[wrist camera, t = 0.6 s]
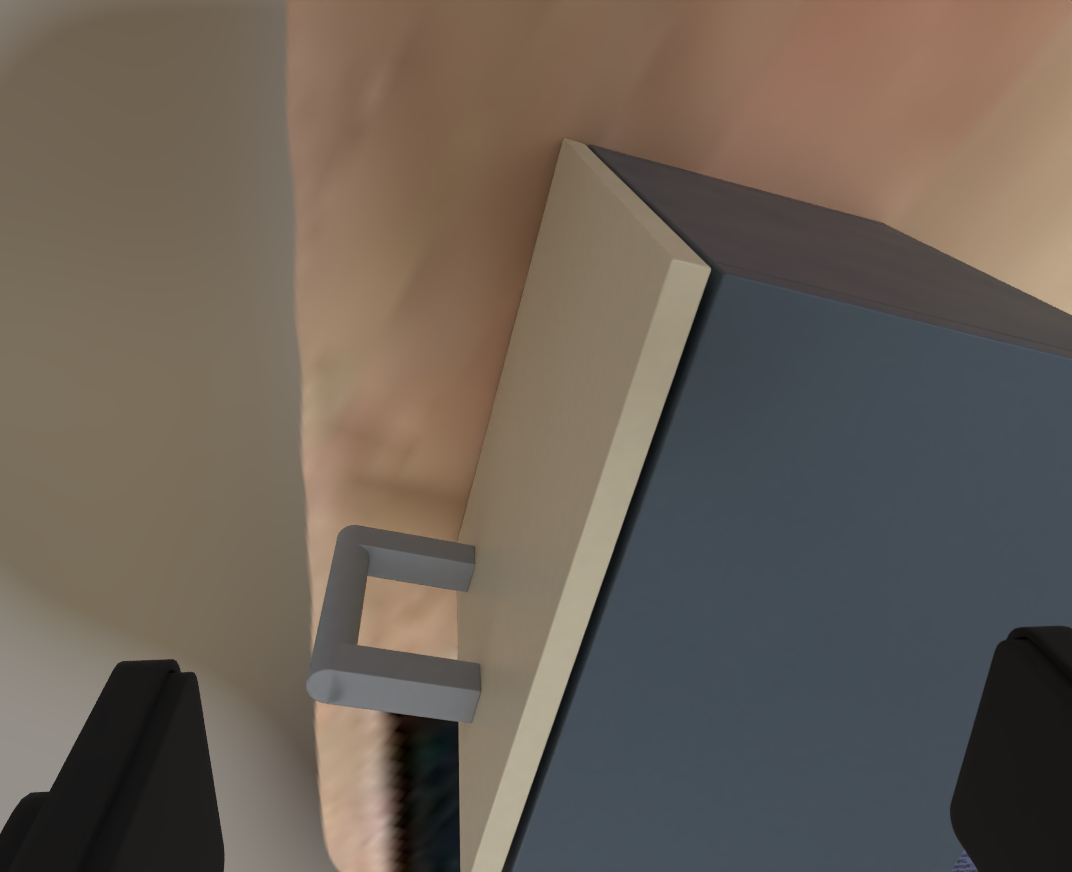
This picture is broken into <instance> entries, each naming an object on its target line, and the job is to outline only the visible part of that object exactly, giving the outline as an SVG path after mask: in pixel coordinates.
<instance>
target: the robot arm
mask: <svg viewBox="0 0 1072 872" xmlns="http://www.w3.org/2000/svg"><path fill="white" fill-rule="evenodd" d="M950 819H951V824H952V827H953V830H954V833H955V835H956V837H957V839H958V840H959V842H960V844H961V845H962V847H963V848H964V850H965V851H966V853H967V854H968V856H969V857H970V859H971V861H972V862H973V864H974V865H975V867H976V868H977V870H978V871H979V872H1072V629H1071V628H1070V627H1066V626H1036V627H1019V628H1015V629H1013V630H1012V631H1011V632H1010V633H1009V635H1008V637H1007V639H1006V640H1004V641H1001V642H1000V643H999V644H998V645H997V647H996V649H995V652H994V655H993V659H992V662H991V665H990V669H989V672H988V676H987V679H986V683H985V686H984V690H983V693H982V697H981V700H980V704H979V707H978V711H977V714H976V717H975V721H974V724H973V728H972V731H971V735H970V738H969V742H968V745H967V749H966V752H965V756H964V759H963V763H962V766H961V770H960V773H959V776H958V780H957V783H956V787H955V790H954V794H953V797H952V801H951V805H950ZM223 871H224V844H223V838H222V832H221V826H220V819H219V813H218V807H217V800H216V793H215V787H214V781H213V775H212V769H211V762H210V756H209V750H208V743H207V737H206V730H205V725H204V718H203V711H202V705H201V699H200V692H199V686H198V681H197V677H196V675H195V673H193V672H184V673H183V672H181V671H180V668H179V665H178V663H177V661H175V660H173V659H171V660H170V659H168V660H141V661H122V662H120V663H118V664H117V665H116V667H115V668H114V670H113V671H112V673H111V675H110V677H109V679H108V681H107V683H106V685H105V687H104V689H103V690H102V692H101V694H100V696H99V698H98V700H97V702H96V704H95V706H94V708H93V710H92V712H91V713H90V715H89V717H88V719H87V721H86V723H85V725H84V727H83V729H82V731H81V733H80V734H79V736H78V738H77V740H76V742H75V744H74V746H73V748H72V750H71V751H70V754H69V755H68V757H67V759H66V761H65V763H64V765H63V767H62V769H61V771H60V773H59V774H58V777H57V778H56V780H55V782H54V784H53V786H52V788H51V790H50V791H49V792H35V793H30V794H28V795H27V796H26V797H24V798H23V799H21V801H20V802H19V804H18V805H17V806H16V808H15V809H14V811H13V812H12V814H11V816H10V817H9V819H8V821H7V823H6V824H5V826H4V828H3V830H2V832H1V834H0V872H223Z"/></svg>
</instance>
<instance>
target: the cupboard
mask: <svg viewBox="0 0 1072 872" xmlns="http://www.w3.org/2000/svg"><path fill="white" fill-rule="evenodd" d="M589 149H590V150H591V151H592V152H593V153H594V154H595V155H596V156H597V157H598V158H599V159H600V160H601V161H602V162H603V163H604V164H605V165H606V166H607V167H608V168H609V169H610V170H611V171H612V172H613V173H614V174H615V175H616V176H617V177H618V178H620V179H621V180H622V181H623V182H624V183H625V184H626V185H627V186H628V187H629V188H630V189H631V190H632V191H633V192H634V193H635V194H636V195H637V196H638V197H639V198H640V199H641V200H642V201H643V202H644V203H645V204H646V205H647V206H648V207H649V208H650V209H651V210H652V211H653V212H654V213H655V214H656V215H657V216H658V217H659V218H660V219H661V220H662V221H663V222H664V223H665V224H666V225H667V226H668V227H669V228H670V229H671V230H672V231H674V232H675V233H676V234H677V235H678V236H679V237H680V238H681V239H682V240H683V241H684V242H685V243H686V244H687V245H688V246H689V247H690V248H691V249H692V250H693V251H694V252H695V253H696V254H697V255H698V256H699V257H700V258H701V259H702V260H703V261H704V262H705V263H706V264H707V265H708V266H709V267H710V268H711V272H710V275H709V278H708V280H707V283H706V286H705V289H704V292H703V295H702V298H701V301H700V303H699V306H698V309H697V312H696V315H695V318H694V321H693V324H692V326H691V329H690V332H689V335H688V338H687V341H686V344H685V347H684V349H683V352H682V355H681V358H680V361H679V364H678V367H677V369H676V372H675V375H674V378H673V381H672V384H671V387H670V390H669V392H668V395H667V398H666V401H665V404H664V407H663V410H662V413H661V415H660V418H659V421H658V424H657V427H656V430H655V433H654V435H653V438H652V441H651V444H650V447H649V450H648V453H647V456H646V458H645V461H644V464H643V467H642V470H641V473H640V476H639V479H638V481H637V484H636V487H635V490H634V493H633V496H632V499H631V502H630V504H629V507H628V510H627V513H626V516H625V519H624V522H623V524H622V527H621V530H620V533H619V536H618V539H617V542H616V545H615V547H614V550H613V553H612V556H611V559H610V562H609V565H608V568H607V570H606V573H605V576H604V579H603V582H602V585H601V588H600V590H599V593H598V596H597V599H596V602H595V605H594V608H593V611H592V613H591V616H590V619H589V622H588V625H587V628H586V631H585V634H584V636H583V639H582V642H581V645H580V648H579V651H578V654H577V657H576V659H575V662H574V665H573V668H572V671H571V674H570V677H569V679H568V682H567V685H566V688H565V691H564V694H563V697H562V700H561V702H560V705H559V708H558V711H557V714H556V717H555V720H554V723H553V725H552V728H551V731H550V734H549V737H548V740H547V743H546V745H545V748H544V751H543V754H542V757H541V760H540V763H539V766H538V768H537V771H536V774H535V777H534V780H533V783H532V786H531V789H530V791H529V794H528V797H527V800H526V803H525V806H524V809H523V812H522V814H521V817H520V820H519V823H518V826H517V829H516V832H515V834H514V837H513V840H512V843H511V846H510V849H509V852H508V855H507V857H506V860H505V863H504V866H503V869H502V872H951V871H952V869H953V868H954V866H955V864H956V863H957V861H958V860H959V858H960V857H961V855H962V854H963V852H964V848H963V847H962V845H961V844H960V842H959V840H958V839H957V837H956V835H955V833H954V830H953V827H952V824H951V819H950V805H951V801H952V797H953V794H954V790H955V787H956V783H957V780H958V776H959V773H960V770H961V766H962V763H963V759H964V756H965V752H966V749H967V745H968V742H969V738H970V735H971V731H972V728H973V724H974V721H975V717H976V714H977V711H978V707H979V704H980V700H981V697H982V693H983V690H984V686H985V683H986V679H987V676H988V672H989V669H990V665H991V662H992V659H993V655H994V652H995V649H996V647H997V645H998V644H999V643H1000V642H1001V641H1004V640H1006V639H1007V637H1008V635H1009V633H1010V632H1011V631H1012V630H1013V629H1015V628H1019V627H1036V626H1066V627H1070V628H1071V629H1072V315H1070V314H1068V313H1066V312H1064V311H1062V310H1060V309H1058V308H1056V307H1053V306H1051V305H1049V304H1047V303H1045V302H1043V301H1041V300H1039V299H1037V298H1035V297H1033V296H1031V295H1029V294H1027V293H1025V292H1023V291H1021V290H1019V289H1017V288H1015V287H1012V286H1010V285H1008V284H1006V283H1004V282H1002V281H1000V280H998V279H996V278H994V277H992V276H990V275H988V274H986V273H984V272H982V271H980V270H978V269H976V268H974V267H971V266H969V265H967V264H965V263H963V262H961V261H959V260H957V259H955V258H953V257H951V256H949V255H947V254H945V253H943V252H941V251H939V250H937V249H935V248H933V247H931V246H928V245H926V244H924V243H922V242H920V241H918V240H916V239H914V238H912V237H910V236H908V235H906V234H904V233H902V232H900V231H898V230H896V229H894V228H892V227H890V226H888V225H886V224H884V223H880V222H877V221H873V220H869V219H865V218H862V217H858V216H854V215H851V214H847V213H843V212H839V211H836V210H832V209H828V208H824V207H821V206H817V205H813V204H810V203H806V202H802V201H798V200H795V199H791V198H787V197H783V196H780V195H776V194H772V193H769V192H765V191H761V190H757V189H754V188H750V187H746V186H742V185H739V184H735V183H731V182H728V181H724V180H720V179H716V178H713V177H709V176H705V175H701V174H698V173H694V172H690V171H687V170H683V169H679V168H675V167H672V166H668V165H664V164H660V163H657V162H653V161H649V160H646V159H642V158H638V157H634V156H631V155H627V154H623V153H619V152H616V151H612V150H608V149H605V148H601V147H597V146H593V145H589Z"/></svg>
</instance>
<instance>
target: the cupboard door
mask: <svg viewBox="0 0 1072 872" xmlns="http://www.w3.org/2000/svg"><path fill="white" fill-rule="evenodd" d="M710 272H711V268H710V267H709V266H708V265H707V264H706V263H705V262H704V261H703V260H702V259H701V258H700V257H699V256H698V255H697V254H696V253H695V252H694V251H693V250H692V249H691V248H690V247H689V246H688V245H687V244H686V243H685V242H684V241H683V240H682V239H681V238H680V237H679V236H678V235H677V234H676V233H675V232H674V231H672V230H671V229H670V228H669V227H668V226H667V225H666V224H665V223H664V222H663V221H662V220H661V219H660V218H659V217H658V216H657V215H656V214H655V213H654V212H653V211H652V210H651V209H650V208H649V207H648V206H647V205H646V204H645V203H644V202H643V201H642V200H641V199H640V198H639V197H638V196H637V195H636V194H635V193H634V192H633V191H632V190H631V189H630V188H629V187H628V186H627V185H626V184H625V183H624V182H623V181H622V180H621V179H620V178H618V177H617V176H616V175H615V174H614V173H613V172H612V171H611V170H610V169H609V168H608V167H607V166H606V165H605V164H604V163H603V162H602V161H601V160H600V159H599V158H598V157H597V156H596V155H595V154H594V153H593V152H592V151H591V150H590V149H589V148H588V147H587V146H586V145H585V144H584V143H581V142H577V141H573V140H570V139H566V138H564V139H563V142H562V145H561V149H560V153H559V157H558V161H557V164H556V168H555V172H554V176H553V180H552V183H551V187H550V191H549V195H548V199H547V202H546V206H545V210H544V214H543V218H542V221H541V225H540V229H539V233H538V237H537V240H536V244H535V248H534V252H533V256H532V260H531V263H530V267H529V271H528V275H527V279H526V282H525V286H524V290H523V294H522V298H521V301H520V305H519V309H518V313H517V317H516V320H515V324H514V328H513V332H512V336H511V339H510V343H509V347H508V351H507V355H506V358H505V362H504V366H503V370H502V374H501V377H500V381H499V385H498V389H497V393H496V397H495V400H494V404H493V408H492V412H491V416H490V419H489V423H488V427H487V431H486V435H485V438H484V442H483V446H482V450H481V454H480V457H479V461H478V465H477V469H476V473H475V476H474V480H473V484H472V488H471V492H470V495H469V499H468V503H467V507H466V511H465V514H464V518H463V522H462V526H461V530H460V534H459V537H458V541H457V543H456V542H450V541H444V540H438V539H433V538H427V537H421V536H415V535H410V534H404V533H398V532H393V531H387V530H381V529H375V528H370V527H364V526H358V525H351V526H347V527H345V528H344V529H342V530H341V531H340V532H339V534H338V537H337V542H336V546H335V551H334V556H333V560H332V565H331V570H330V574H329V579H328V584H327V588H326V593H325V598H324V602H323V607H322V612H321V616H320V621H319V626H318V630H317V635H316V640H315V644H314V649H313V654H312V658H311V664H310V668H309V672H308V678H307V682H306V689H307V691H308V693H309V695H310V696H311V697H312V698H313V699H315V700H316V701H319V702H322V703H326V704H333V705H341V706H348V707H355V708H362V709H370V710H377V711H384V712H392V713H399V714H406V715H414V716H421V717H428V718H436V719H443V720H450V721H458V722H459V787H460V867H461V872H502V869H503V866H504V863H505V860H506V857H507V855H508V852H509V849H510V846H511V843H512V840H513V837H514V834H515V832H516V829H517V826H518V823H519V820H520V817H521V814H522V812H523V809H524V806H525V803H526V800H527V797H528V794H529V791H530V789H531V786H532V783H533V780H534V777H535V774H536V771H537V768H538V766H539V763H540V760H541V757H542V754H543V751H544V748H545V745H546V743H547V740H548V737H549V734H550V731H551V728H552V725H553V723H554V720H555V717H556V714H557V711H558V708H559V705H560V702H561V700H562V697H563V694H564V691H565V688H566V685H567V682H568V679H569V677H570V674H571V671H572V668H573V665H574V662H575V659H576V657H577V654H578V651H579V648H580V645H581V642H582V639H583V636H584V634H585V631H586V628H587V625H588V622H589V619H590V616H591V613H592V611H593V608H594V605H595V602H596V599H597V596H598V593H599V590H600V588H601V585H602V582H603V579H604V576H605V573H606V570H607V568H608V565H609V562H610V559H611V556H612V553H613V550H614V547H615V545H616V542H617V539H618V536H619V533H620V530H621V527H622V524H623V522H624V519H625V516H626V513H627V510H628V507H629V504H630V502H631V499H632V496H633V493H634V490H635V487H636V484H637V481H638V479H639V476H640V473H641V470H642V467H643V464H644V461H645V458H646V456H647V453H648V450H649V447H650V444H651V441H652V438H653V435H654V433H655V430H656V427H657V424H658V421H659V418H660V415H661V413H662V410H663V407H664V404H665V401H666V398H667V395H668V392H669V390H670V387H671V384H672V381H673V378H674V375H675V372H676V369H677V367H678V364H679V361H680V358H681V355H682V352H683V349H684V347H685V344H686V341H687V338H688V335H689V332H690V329H691V326H692V324H693V321H694V318H695V315H696V312H697V309H698V306H699V303H700V301H701V298H702V295H703V292H704V289H705V286H706V283H707V280H708V278H709V275H710ZM367 576H372V577H378V578H384V579H390V580H396V581H402V582H408V583H414V584H420V585H426V586H432V587H438V588H444V589H450V590H457V626H458V660H453V659H446V658H439V657H433V656H426V655H419V654H413V653H406V652H399V651H393V650H386V649H379V648H373V647H366V646H359V645H357V642H358V636H359V629H360V622H361V615H362V608H363V601H364V595H365V588H366V581H367Z"/></svg>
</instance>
